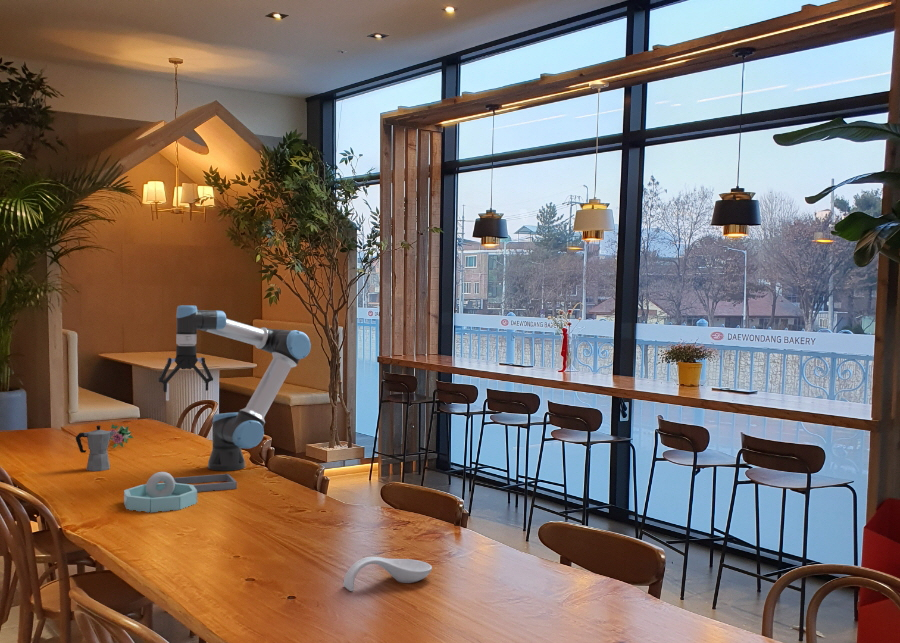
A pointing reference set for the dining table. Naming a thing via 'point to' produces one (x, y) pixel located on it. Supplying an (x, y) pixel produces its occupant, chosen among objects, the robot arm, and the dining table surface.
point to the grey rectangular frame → (209, 478)
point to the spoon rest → (391, 569)
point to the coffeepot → (96, 448)
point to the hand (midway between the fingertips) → (185, 399)
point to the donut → (156, 479)
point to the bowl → (160, 498)
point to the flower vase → (120, 435)
